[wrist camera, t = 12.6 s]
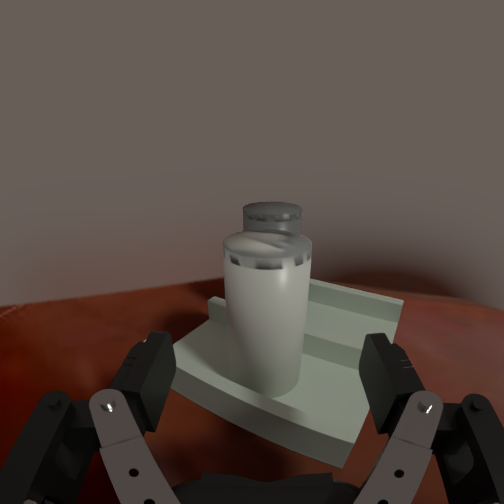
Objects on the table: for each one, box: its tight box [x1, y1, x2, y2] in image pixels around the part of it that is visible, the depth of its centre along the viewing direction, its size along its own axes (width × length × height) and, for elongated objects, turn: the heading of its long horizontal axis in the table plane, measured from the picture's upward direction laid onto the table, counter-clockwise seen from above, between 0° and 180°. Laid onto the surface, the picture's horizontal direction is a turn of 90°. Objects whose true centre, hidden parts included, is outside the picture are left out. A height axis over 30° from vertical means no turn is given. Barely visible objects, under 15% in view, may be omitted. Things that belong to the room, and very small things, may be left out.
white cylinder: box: [223, 229, 312, 398], centre depth 19 cm, size 5×5×10 cm
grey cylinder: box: [243, 202, 302, 234], centre depth 27 cm, size 5×5×10 cm
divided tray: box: [144, 279, 404, 468], centre depth 24 cm, size 16×17×3 cm
